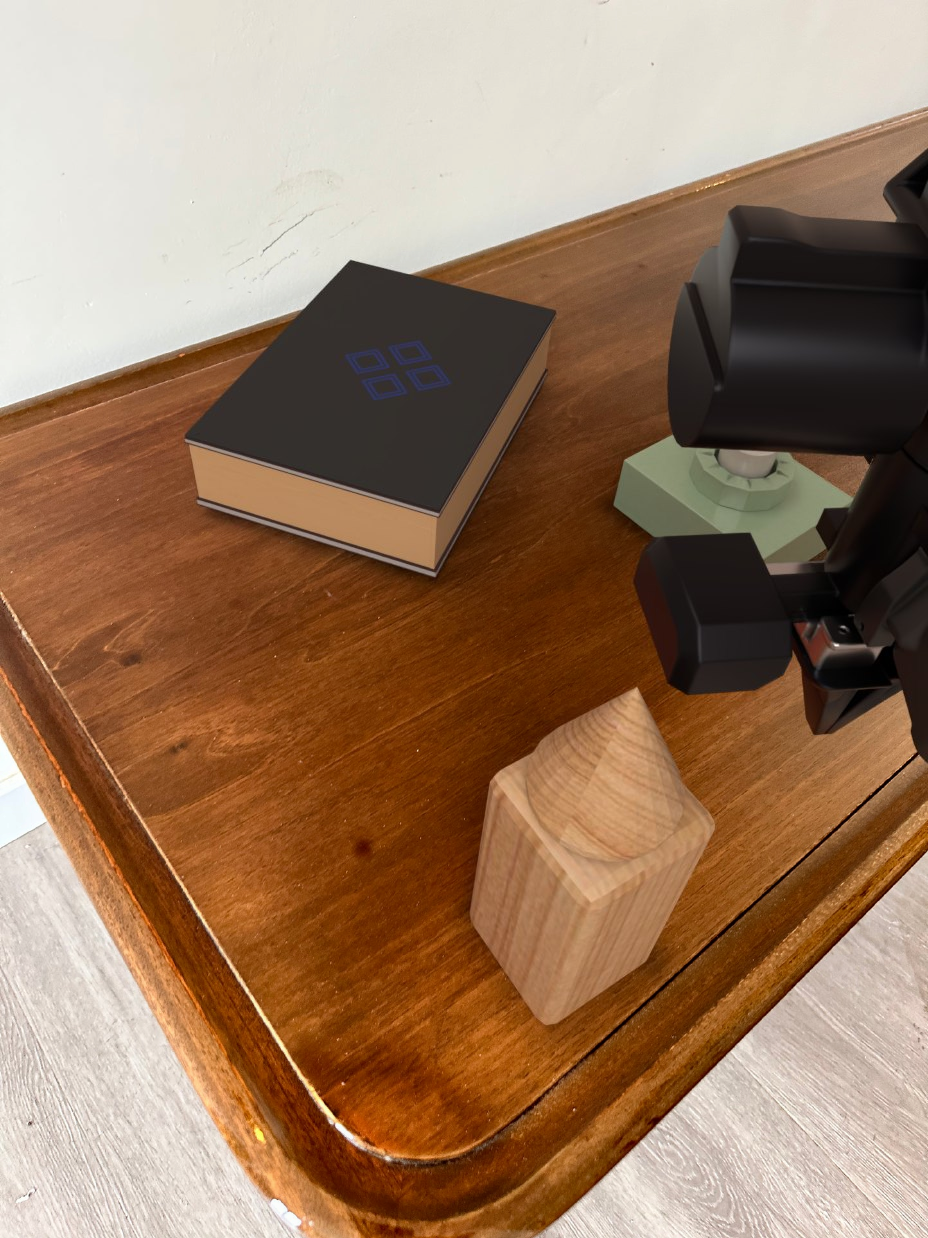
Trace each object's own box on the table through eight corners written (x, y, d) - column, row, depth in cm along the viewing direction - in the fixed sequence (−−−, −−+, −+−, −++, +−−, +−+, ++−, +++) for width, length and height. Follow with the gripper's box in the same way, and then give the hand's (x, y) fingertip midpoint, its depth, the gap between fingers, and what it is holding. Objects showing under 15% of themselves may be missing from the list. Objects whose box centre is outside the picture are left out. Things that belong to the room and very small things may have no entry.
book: (198, 513, 65) (182, 434, 60) (351, 332, 81) (349, 258, 76) (435, 587, 61) (439, 510, 56) (545, 383, 77) (557, 309, 72)
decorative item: (569, 853, 49) (649, 589, 34) (653, 960, 46) (782, 717, 31) (463, 917, 47) (500, 661, 32) (543, 1036, 43) (627, 811, 28)
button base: (833, 544, 67) (865, 478, 62) (742, 606, 62) (770, 539, 58) (704, 455, 72) (725, 388, 68) (612, 505, 68) (628, 438, 63)
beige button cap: (782, 466, 63) (792, 442, 61) (748, 487, 61) (757, 462, 60) (740, 439, 65) (749, 414, 63) (706, 458, 63) (714, 433, 62)
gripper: (799, 657, 24) (663, 920, 36) (1431, 616, 26) (1110, 874, 38) (677, 395, 31) (598, 685, 43) (1181, 382, 34) (976, 659, 45)
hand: (817, 726), depth 42 cm, fingers closed
